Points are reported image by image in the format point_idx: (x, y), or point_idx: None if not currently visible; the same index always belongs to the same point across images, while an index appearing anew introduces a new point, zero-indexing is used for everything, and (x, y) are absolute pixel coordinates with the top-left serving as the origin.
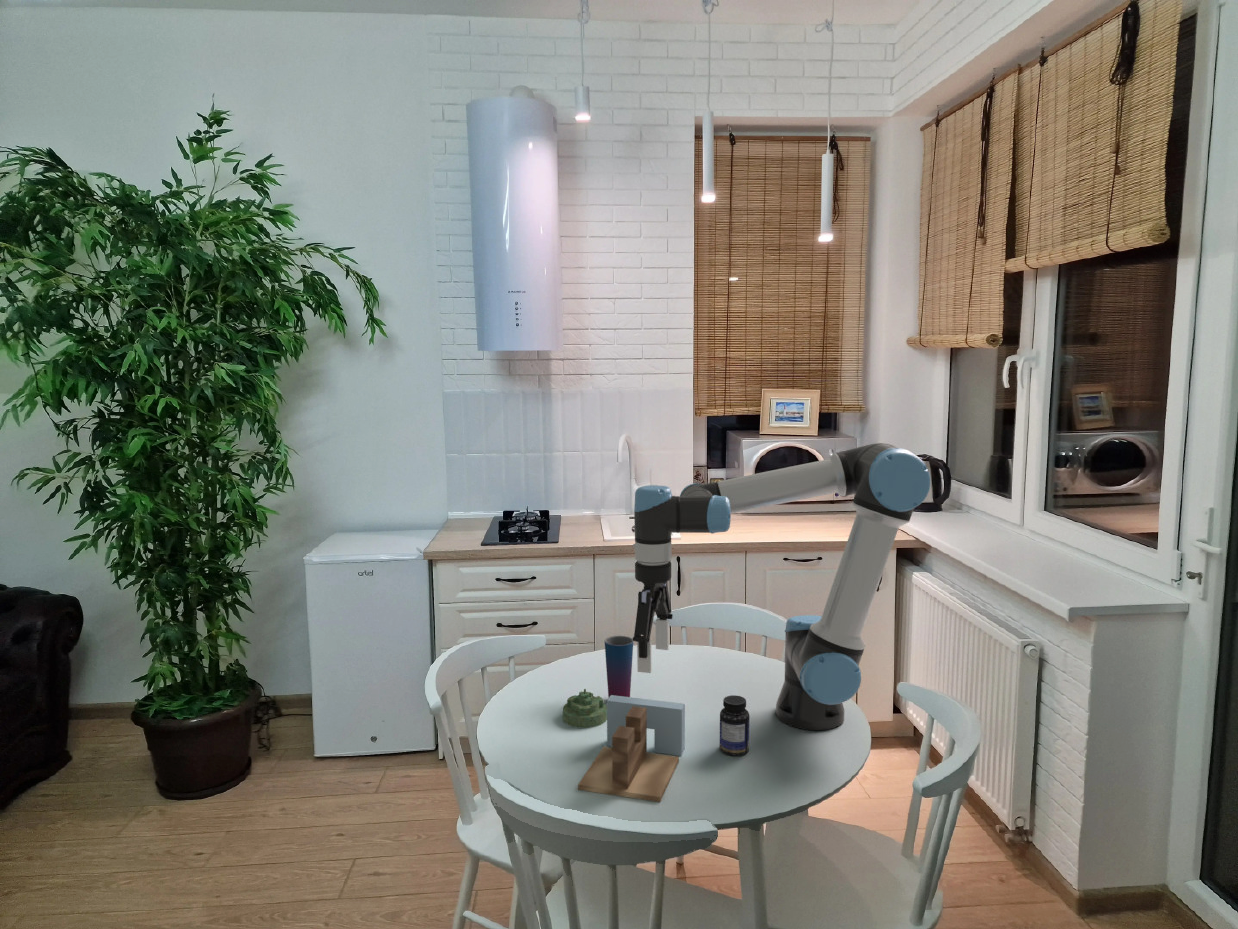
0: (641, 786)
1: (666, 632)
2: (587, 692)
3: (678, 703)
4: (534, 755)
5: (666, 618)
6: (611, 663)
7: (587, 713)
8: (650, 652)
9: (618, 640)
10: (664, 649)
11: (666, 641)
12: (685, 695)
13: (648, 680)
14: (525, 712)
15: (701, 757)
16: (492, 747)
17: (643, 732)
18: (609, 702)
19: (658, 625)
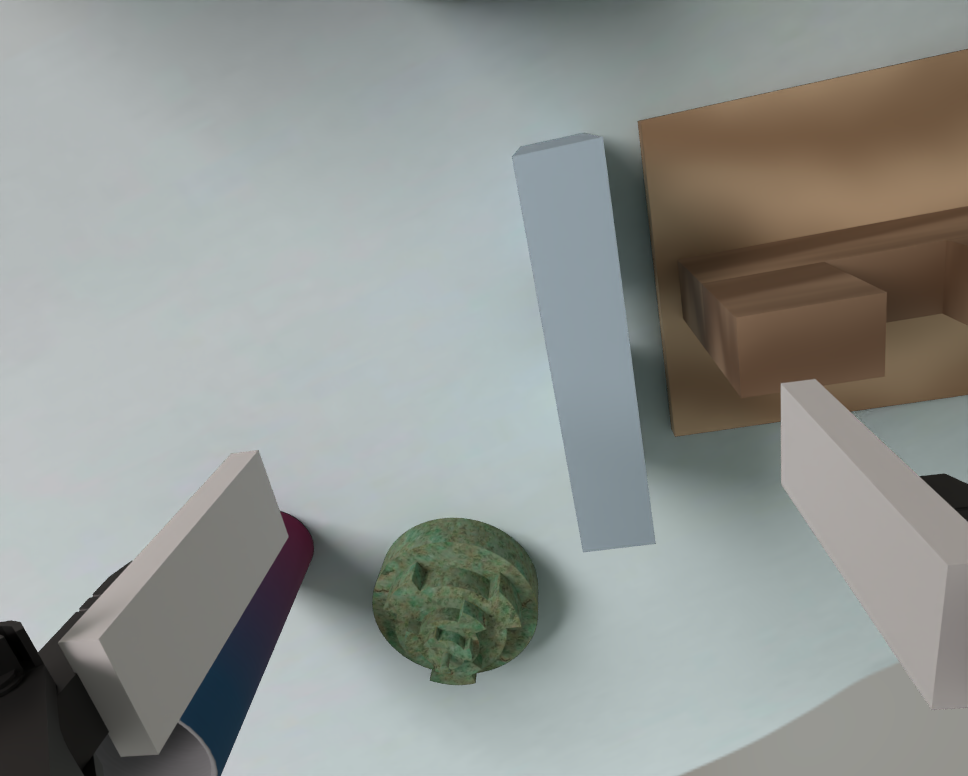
0: (957, 157)
1: (182, 555)
2: (434, 651)
3: (528, 194)
4: (784, 605)
5: (51, 679)
6: (256, 681)
7: (508, 585)
8: (912, 476)
9: (103, 758)
10: (265, 476)
11: (228, 500)
12: (69, 351)
13: (54, 525)
14: (514, 742)
15: (557, 40)
16: (775, 722)
17: (771, 277)
18: (652, 527)
19: (179, 676)
